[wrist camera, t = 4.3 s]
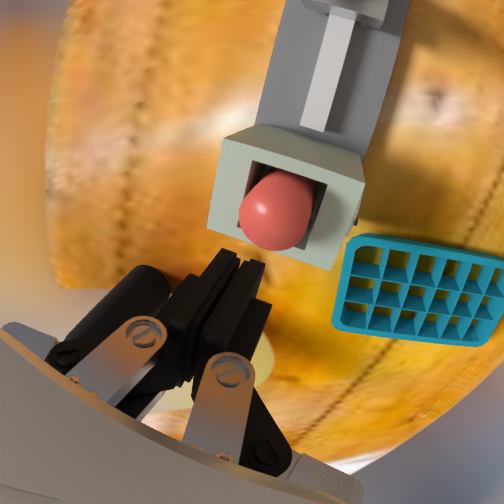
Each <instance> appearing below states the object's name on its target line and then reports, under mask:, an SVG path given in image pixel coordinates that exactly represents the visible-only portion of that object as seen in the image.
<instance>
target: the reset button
mask: <svg viewBox="0 0 504 504" xmlns="http://www.w3.org/2000/svg"><path fill="white" fill-rule="evenodd" d="M316 196H317V183H316V180H314V179H311V178H308V177H305V176H302V175H299V174H296V173H293V172H289V171H286V170H283V169H280V168H277V167H273V168H272V169H271V170H270V171H269V172H268V173H267V174H266V175H265V176H264V177H263V178H262V179H261V181H260V182H259V183H258V184H257V185H256V186H255V187H254V188H253V189H252V190H251V191H250V192H249V193H248V194H247V196H246V197H245V198H244V199H243V201H242V203H241V205H240V208H239V223H240V226H241V229H242V231H243V232H244V234H245V235H246V237H247V238H248V239H249V240H250V241H251V242H252V243H254V244H255V245H257V246H259V247H261V248H263V249H266V250H271V251H282V250H286V249H289V248H291V247H293V246H295V245H296V244H297V243H298V242H299V241H300V240H301V239H302V238H303V236H304V234H305V232H306V229H307V225H308V222H309V219H310V216H311V212H312V209H313V206H314V202H315V199H316Z"/></svg>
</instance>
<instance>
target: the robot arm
mask: <svg viewBox="0 0 504 504" xmlns="http://www.w3.org/2000/svg"><path fill="white" fill-rule="evenodd" d="M236 256H237V253H235V252H232V251H230V250H227V249H224V248H222V249H221V250H220V251H219V252H218V254H217V255H216V256H215V258H214V259H213V260H212V261H211V263H210V264H209V265H208V267H207V268H206V269H205V271H204V272H203V273H202V275H201V276H200V277H199V276H196V275H194V274H189V275H188V276H187V277H186V278H185V279H184V280H183V282H182V283H181V284H180V285H179V287H178V288H177V289H176V290H175V292H174V293H173V294H172V295H171V297H170V298H169V299H168V300H167V302H166V303H165V304H164V305H163V307H162V308H161V309H160V310H159V312H158V313H157V314H156V315H155V317H154V318H153V317H148V316H137V317H134V318H131V319H130V320H128V321H126V322H125V323H124V324H123V325H122V326H121V327H119V328H118V329H117V330H116V331H115V332H114V333H112V334H108V335H101V336H95V337H88V338H81V339H74V340H66V341H63V342H59V341H58V340H57V338H55V337H52V336H50V335H47V334H45V333H42V332H40V331H37V330H35V329H32V328H30V327H27V326H25V325H23V324H21V323H17V322H11V323H8V324H6V325H4V326H3V327H2V328H1V329H0V504H361V500H362V499H363V494H364V491H363V487H362V485H361V483H360V482H359V481H358V480H357V479H356V478H354V477H353V476H350V475H348V474H346V473H344V472H342V471H339V470H337V469H335V468H333V467H331V466H329V465H327V464H325V463H323V462H321V461H319V460H317V459H315V458H313V457H311V456H309V455H307V454H305V453H303V454H302V455H301V454H299V453H298V452H296V451H294V450H292V449H291V448H290V445H289V443H288V442H287V440H286V439H285V437H284V436H283V434H282V432H281V431H280V429H279V428H278V426H277V424H276V423H275V421H274V419H273V418H272V416H271V415H270V413H269V411H268V410H267V408H266V406H265V405H264V403H263V401H262V400H261V398H260V396H259V395H258V393H257V391H256V390H255V388H254V381H255V371H254V368H253V366H252V364H251V363H250V361H251V359H252V356H253V354H254V351H255V349H256V347H257V344H258V342H259V339H260V337H261V334H262V332H263V329H264V326H265V324H266V321H267V318H268V316H269V313H270V310H271V307H272V304H269V303H267V302H264V301H261V300H259V299H256V295H257V292H258V288H259V285H260V282H261V278H262V275H263V272H264V269H265V265H266V264H265V263H263V262H260V261H257V260H254V259H251V260H250V261H249V262H248V261H245V260H244V262H243V263H242V265H241V266H240V268H239V265H240V260H241V259H240V258H237V257H236ZM238 269H239V270H238ZM193 376H194V378H193ZM192 378H193V386H192V393H191V397H192V400H193V402H194V405H193V408H192V411H191V414H190V417H189V420H188V424H187V427H186V430H185V433H184V436H183V440H182V442H180V441H178V440H176V439H174V438H171V437H169V436H167V435H165V434H163V433H161V432H159V431H157V430H155V429H153V428H151V427H149V426H147V425H145V424H143V423H141V421H142V419H143V418H144V417H145V416H146V415H147V414H148V413H149V411H150V410H151V409H152V408H153V407H154V406H155V404H156V403H157V402H158V401H159V400H160V399H161V398H162V396H163V395H164V393H165V391H166V390H170V389H174V388H175V386H178V387H180V388H181V386H182V385H183V383H184V381H186V382H190V381H191V379H192Z"/></svg>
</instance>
